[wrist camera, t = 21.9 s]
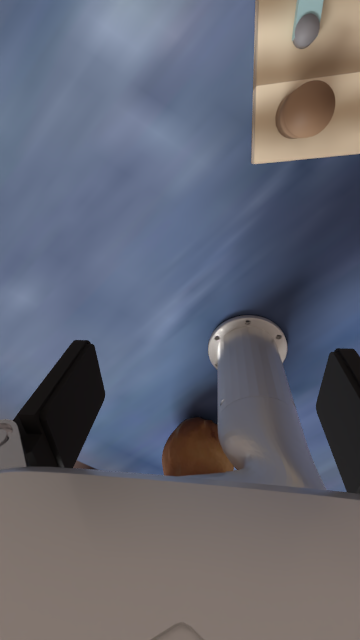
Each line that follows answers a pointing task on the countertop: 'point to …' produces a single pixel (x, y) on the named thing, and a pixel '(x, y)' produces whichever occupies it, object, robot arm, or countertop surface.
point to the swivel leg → (306, 22)
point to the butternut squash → (194, 450)
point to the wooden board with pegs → (306, 84)
